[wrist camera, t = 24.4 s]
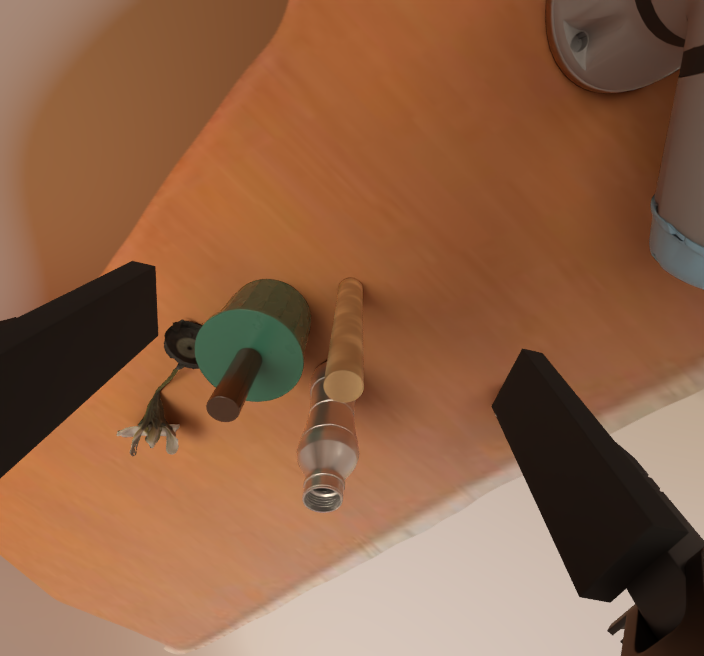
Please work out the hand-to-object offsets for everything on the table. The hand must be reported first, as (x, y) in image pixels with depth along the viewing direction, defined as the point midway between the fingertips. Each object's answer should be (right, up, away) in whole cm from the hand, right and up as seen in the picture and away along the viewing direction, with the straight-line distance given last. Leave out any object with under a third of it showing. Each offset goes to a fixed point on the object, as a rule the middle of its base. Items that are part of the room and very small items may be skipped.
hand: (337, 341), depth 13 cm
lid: (-10, -3, +25) cm, 27 cm away
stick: (0, +5, +31) cm, 32 cm away
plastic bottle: (-2, -6, +37) cm, 38 cm away
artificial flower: (-25, -8, +39) cm, 47 cm away
